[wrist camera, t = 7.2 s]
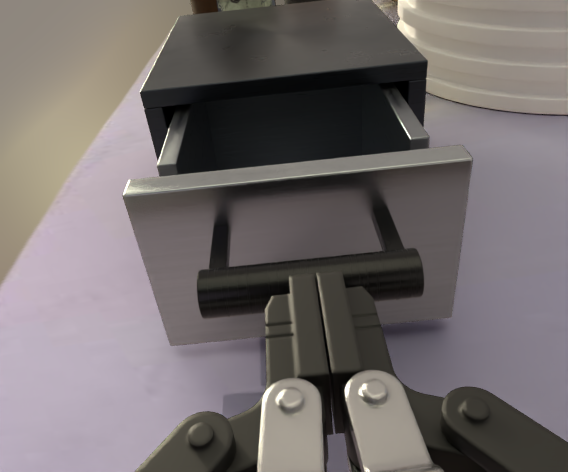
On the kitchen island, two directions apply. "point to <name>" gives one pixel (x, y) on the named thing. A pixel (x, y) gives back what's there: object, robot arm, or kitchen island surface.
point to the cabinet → (280, 57)
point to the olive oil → (227, 5)
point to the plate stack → (493, 51)
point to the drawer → (298, 209)
